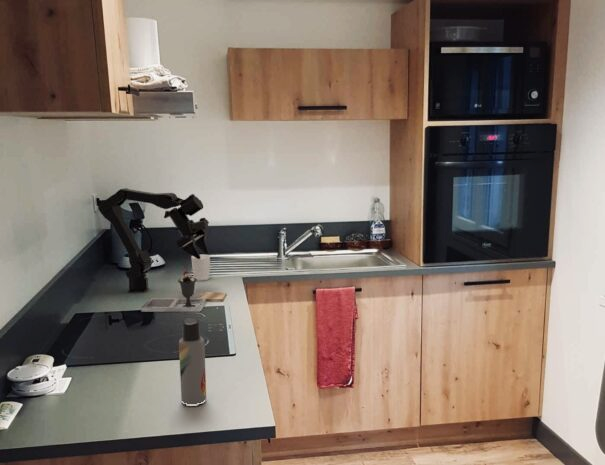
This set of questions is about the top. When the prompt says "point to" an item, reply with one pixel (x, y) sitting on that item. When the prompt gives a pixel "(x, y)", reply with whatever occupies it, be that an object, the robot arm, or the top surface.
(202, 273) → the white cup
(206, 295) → the coaster
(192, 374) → the lotion bottle
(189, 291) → the sundae
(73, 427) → the top surface
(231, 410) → the top surface
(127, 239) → the robot arm
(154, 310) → the divided tray
